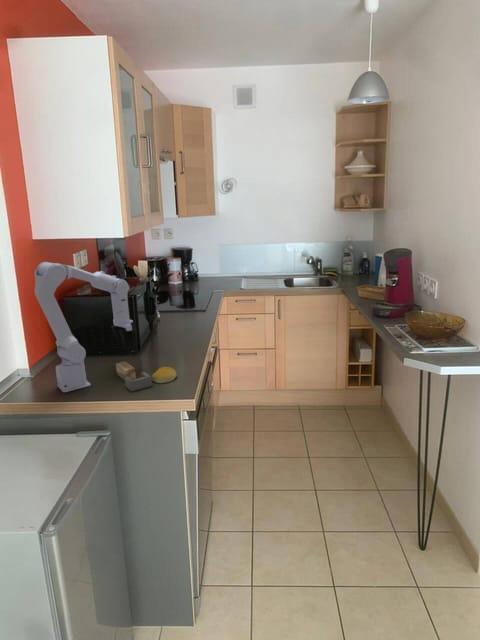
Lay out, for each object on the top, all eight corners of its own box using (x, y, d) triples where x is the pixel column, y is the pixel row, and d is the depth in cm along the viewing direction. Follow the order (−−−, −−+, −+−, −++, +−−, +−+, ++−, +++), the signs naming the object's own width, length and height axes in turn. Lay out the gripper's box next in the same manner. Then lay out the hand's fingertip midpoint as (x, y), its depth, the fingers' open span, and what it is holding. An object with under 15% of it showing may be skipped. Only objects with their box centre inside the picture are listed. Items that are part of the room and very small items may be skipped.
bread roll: (148, 383, 165) (147, 373, 164) (159, 374, 174) (158, 364, 172) (170, 384, 163) (169, 374, 162) (180, 375, 171) (179, 365, 170)
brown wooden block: (126, 382, 167) (125, 370, 166) (117, 374, 175) (115, 363, 174) (136, 380, 169) (134, 368, 168) (126, 372, 177) (124, 361, 176)
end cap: (131, 391, 158) (130, 381, 157) (125, 386, 163) (124, 377, 162) (152, 385, 162) (151, 376, 161) (145, 381, 167) (144, 372, 166)
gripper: (138, 311, 171) (141, 347, 174) (124, 305, 183) (127, 339, 186) (119, 315, 167) (123, 351, 170) (106, 308, 179) (110, 342, 182)
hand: (124, 345), depth 178 cm, fingers open, 7 cm apart
